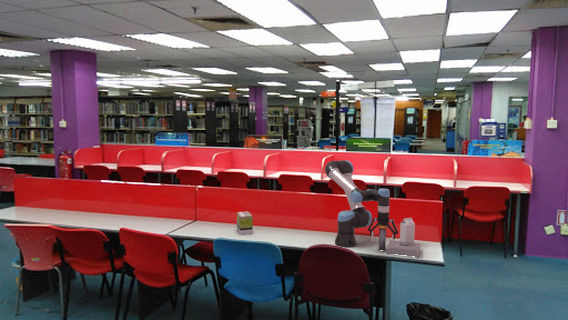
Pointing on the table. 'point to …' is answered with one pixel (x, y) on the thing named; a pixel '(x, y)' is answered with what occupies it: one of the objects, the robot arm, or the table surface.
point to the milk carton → (407, 230)
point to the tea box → (244, 223)
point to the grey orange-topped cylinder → (382, 236)
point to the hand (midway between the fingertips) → (382, 242)
